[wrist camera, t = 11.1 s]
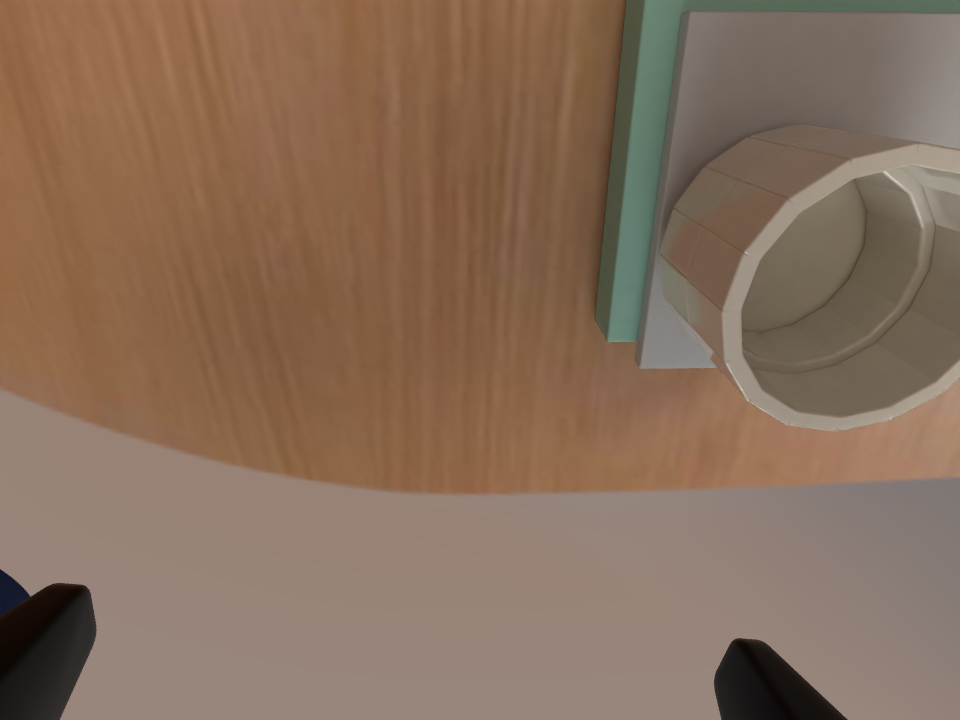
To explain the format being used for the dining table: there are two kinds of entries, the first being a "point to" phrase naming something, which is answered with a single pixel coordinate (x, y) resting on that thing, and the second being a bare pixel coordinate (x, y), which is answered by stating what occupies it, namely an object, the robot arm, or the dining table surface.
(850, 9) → the kitchen scale
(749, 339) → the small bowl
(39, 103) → the dining table surface
